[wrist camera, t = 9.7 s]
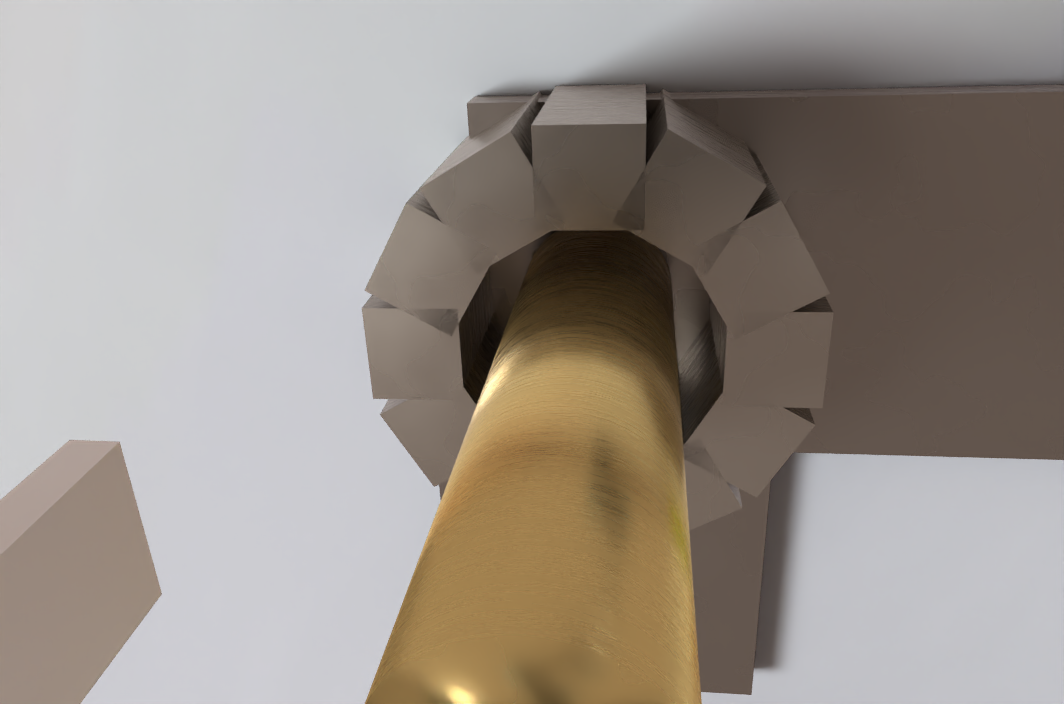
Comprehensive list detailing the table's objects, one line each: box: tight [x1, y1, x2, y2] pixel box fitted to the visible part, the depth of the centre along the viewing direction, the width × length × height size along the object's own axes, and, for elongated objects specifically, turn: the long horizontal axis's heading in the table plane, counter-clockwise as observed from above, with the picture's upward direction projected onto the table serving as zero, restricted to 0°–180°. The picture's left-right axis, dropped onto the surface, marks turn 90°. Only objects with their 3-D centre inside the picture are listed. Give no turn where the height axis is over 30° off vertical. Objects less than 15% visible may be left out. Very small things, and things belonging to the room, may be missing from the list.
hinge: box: [362, 84, 1064, 695], centre depth 21 cm, size 18×21×5 cm
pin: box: [365, 230, 702, 704], centre depth 15 cm, size 4×4×14 cm
